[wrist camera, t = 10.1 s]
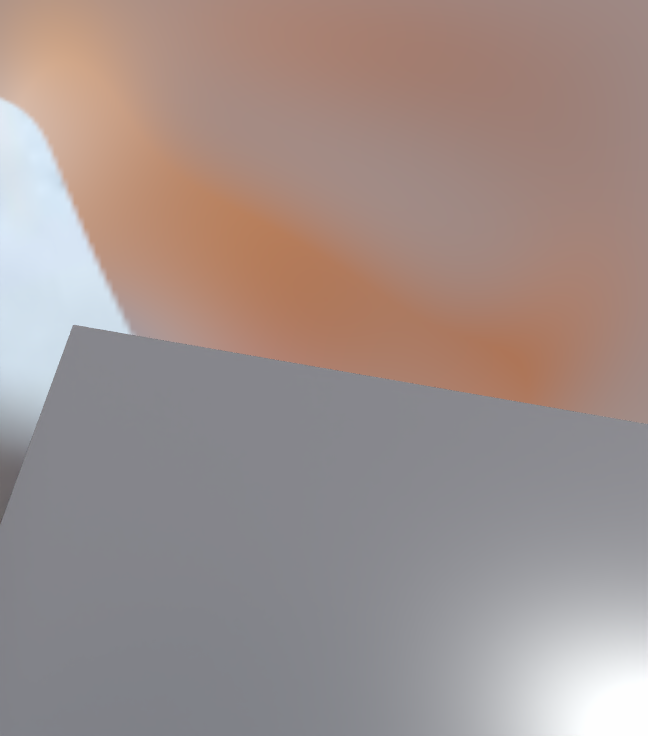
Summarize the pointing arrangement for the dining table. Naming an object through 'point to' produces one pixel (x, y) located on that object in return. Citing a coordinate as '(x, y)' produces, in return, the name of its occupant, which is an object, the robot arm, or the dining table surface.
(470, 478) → the tall grey pillar
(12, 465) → the dining table surface
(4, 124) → the dining table surface
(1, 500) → the dining table surface
